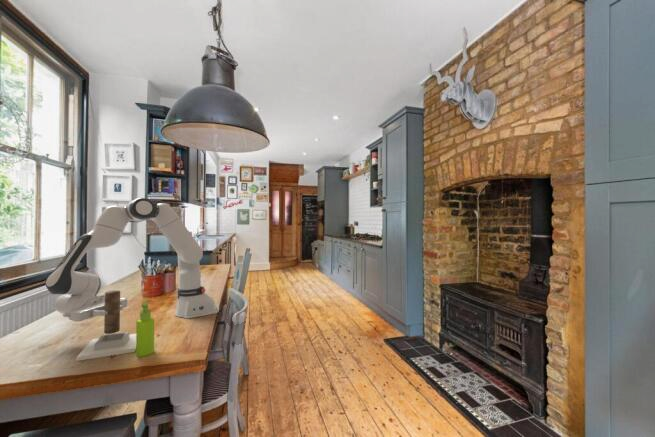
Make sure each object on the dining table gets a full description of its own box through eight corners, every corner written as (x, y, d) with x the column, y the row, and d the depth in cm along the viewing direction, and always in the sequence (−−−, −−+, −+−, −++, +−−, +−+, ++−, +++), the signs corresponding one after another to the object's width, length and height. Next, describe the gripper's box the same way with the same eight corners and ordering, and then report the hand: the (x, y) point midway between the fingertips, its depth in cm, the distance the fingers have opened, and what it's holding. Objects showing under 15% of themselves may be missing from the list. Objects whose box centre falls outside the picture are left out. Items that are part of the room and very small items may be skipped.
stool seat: (142, 335, 126) (142, 327, 126) (134, 351, 112) (134, 341, 112) (92, 342, 119) (92, 333, 119) (76, 360, 104) (76, 350, 104)
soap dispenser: (134, 359, 106) (135, 306, 106) (137, 351, 112) (137, 301, 112) (153, 355, 109) (153, 304, 109) (154, 348, 115) (154, 299, 115)
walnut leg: (117, 327, 119) (118, 289, 119) (121, 331, 115) (121, 292, 115) (102, 331, 115) (103, 292, 115) (105, 334, 112) (106, 294, 112)
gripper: (60, 307, 109) (86, 311, 105) (113, 293, 128) (137, 296, 125) (59, 323, 109) (85, 327, 105) (113, 307, 128) (136, 310, 125)
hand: (114, 310), depth 115 cm, fingers closed on walnut leg, 5 cm apart
